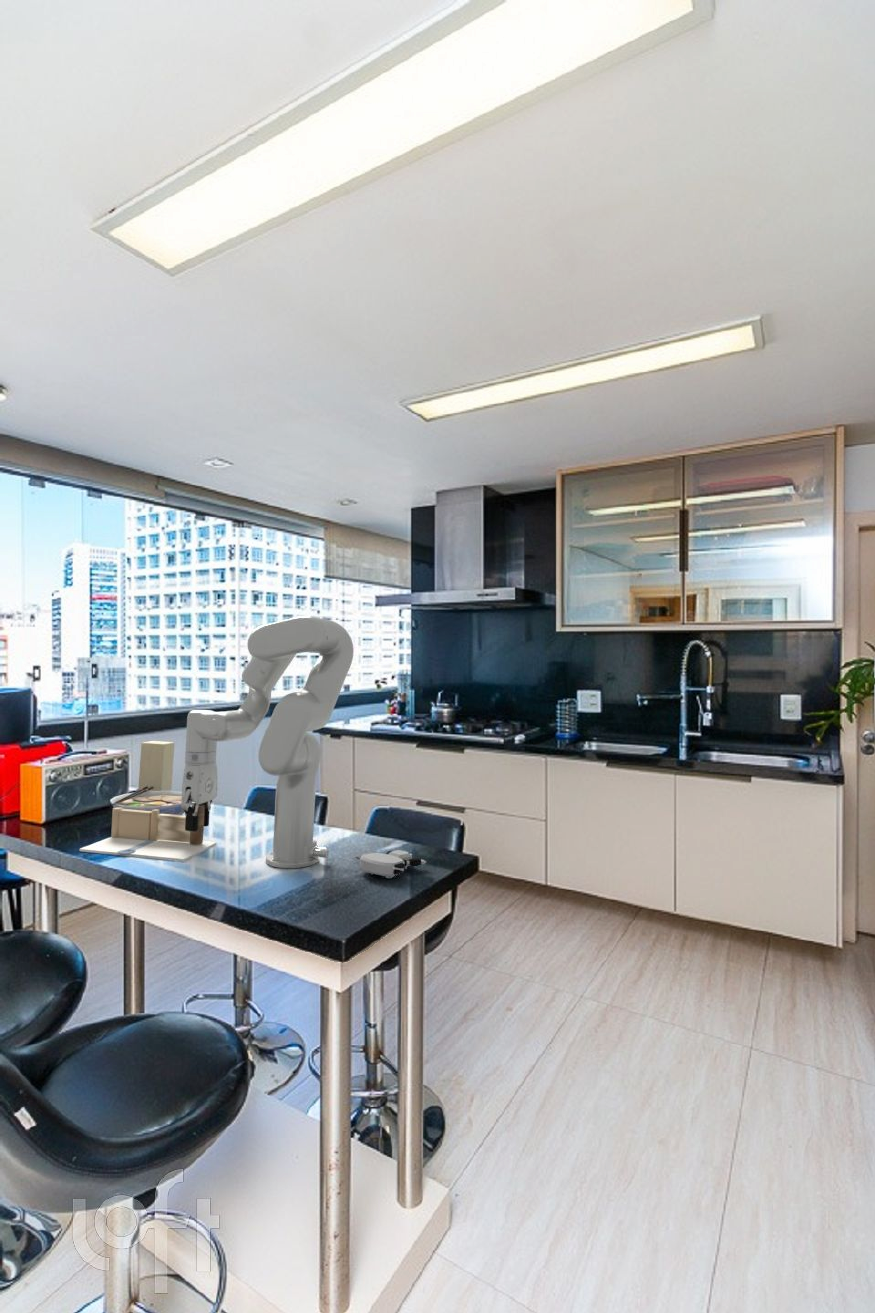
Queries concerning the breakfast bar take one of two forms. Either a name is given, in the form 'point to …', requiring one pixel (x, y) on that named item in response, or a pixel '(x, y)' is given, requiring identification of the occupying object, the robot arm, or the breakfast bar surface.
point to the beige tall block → (156, 765)
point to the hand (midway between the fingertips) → (197, 827)
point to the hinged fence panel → (180, 827)
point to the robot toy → (388, 862)
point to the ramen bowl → (151, 801)
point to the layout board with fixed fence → (143, 838)
